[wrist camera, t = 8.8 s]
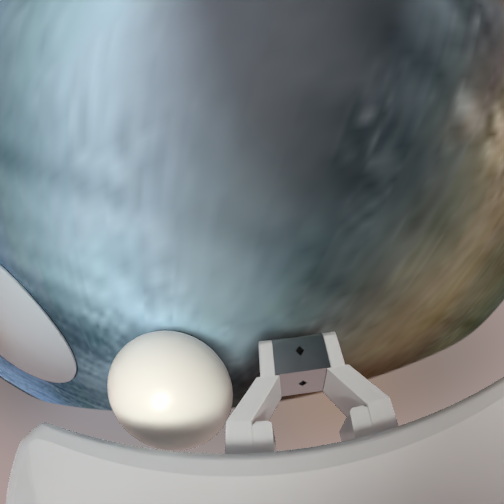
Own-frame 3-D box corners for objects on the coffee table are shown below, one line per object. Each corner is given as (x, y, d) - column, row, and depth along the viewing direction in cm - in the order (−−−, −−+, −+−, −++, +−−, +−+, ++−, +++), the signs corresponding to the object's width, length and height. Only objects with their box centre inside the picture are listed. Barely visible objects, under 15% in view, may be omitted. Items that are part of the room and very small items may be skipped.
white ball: (228, 416, 7) (177, 284, 10) (94, 458, 6) (76, 338, 10) (266, 428, 11) (222, 339, 14) (169, 463, 10) (141, 377, 14)
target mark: (-69, 253, 9) (-70, 255, 9) (-3, 221, 8) (-5, 222, 8) (10, 369, 17) (9, 370, 17) (110, 390, 16) (109, 392, 16)
